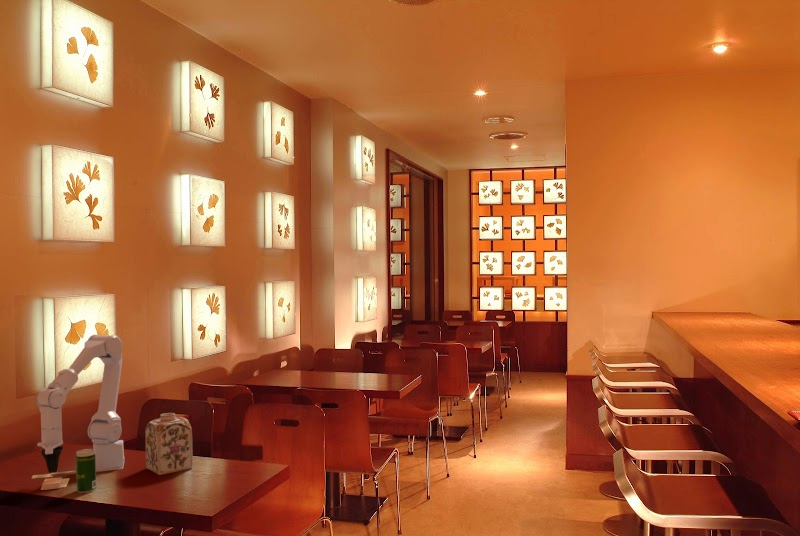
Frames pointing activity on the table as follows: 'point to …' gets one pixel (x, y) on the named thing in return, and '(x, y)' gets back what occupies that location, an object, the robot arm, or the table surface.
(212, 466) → the table surface
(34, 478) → the wooden turner
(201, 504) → the table surface
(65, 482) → the marble board
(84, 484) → the beer can
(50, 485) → the tile
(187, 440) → the decorative jar
